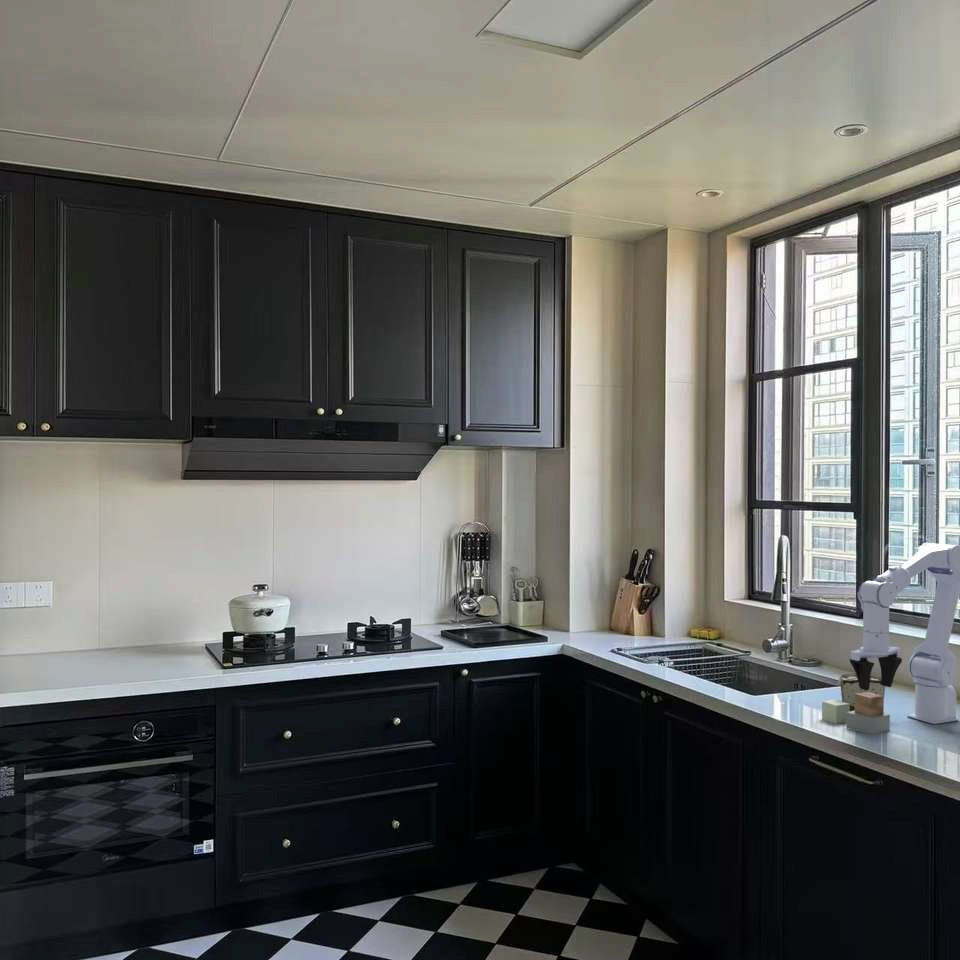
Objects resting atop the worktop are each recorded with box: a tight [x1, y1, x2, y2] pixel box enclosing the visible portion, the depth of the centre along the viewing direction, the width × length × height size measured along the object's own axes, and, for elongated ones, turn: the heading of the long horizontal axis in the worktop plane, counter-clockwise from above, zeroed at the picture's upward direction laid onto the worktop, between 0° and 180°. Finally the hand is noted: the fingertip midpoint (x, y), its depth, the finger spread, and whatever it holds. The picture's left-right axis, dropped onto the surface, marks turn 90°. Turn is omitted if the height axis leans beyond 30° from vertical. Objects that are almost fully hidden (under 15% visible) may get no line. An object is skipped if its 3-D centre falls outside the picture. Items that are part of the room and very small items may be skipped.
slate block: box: [845, 710, 891, 736], centre depth 218 cm, size 7×7×4 cm
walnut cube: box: [855, 692, 885, 717], centre depth 218 cm, size 4×4×4 cm
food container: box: [837, 672, 886, 711], centre depth 232 cm, size 12×6×10 cm, turn 92°
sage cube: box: [821, 699, 850, 724], centre depth 226 cm, size 4×4×4 cm
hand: (875, 687), depth 219 cm, fingers open, 7 cm apart
